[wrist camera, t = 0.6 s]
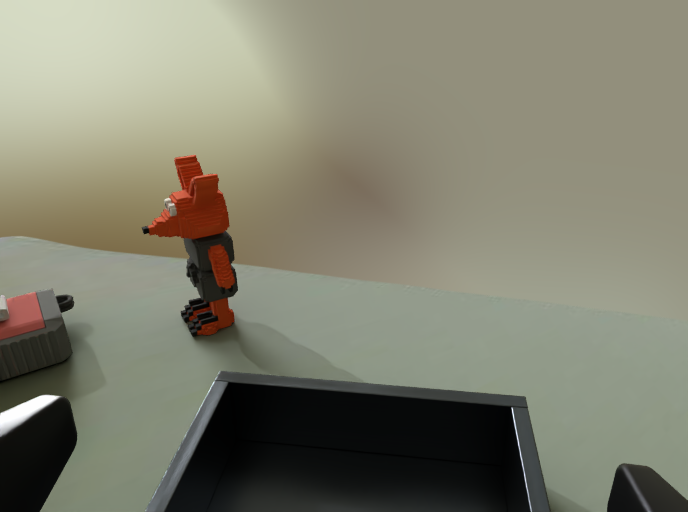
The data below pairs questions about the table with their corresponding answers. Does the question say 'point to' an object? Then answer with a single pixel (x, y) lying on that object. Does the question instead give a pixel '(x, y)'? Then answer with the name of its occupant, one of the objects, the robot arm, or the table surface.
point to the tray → (352, 450)
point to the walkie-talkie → (33, 332)
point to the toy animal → (201, 245)
